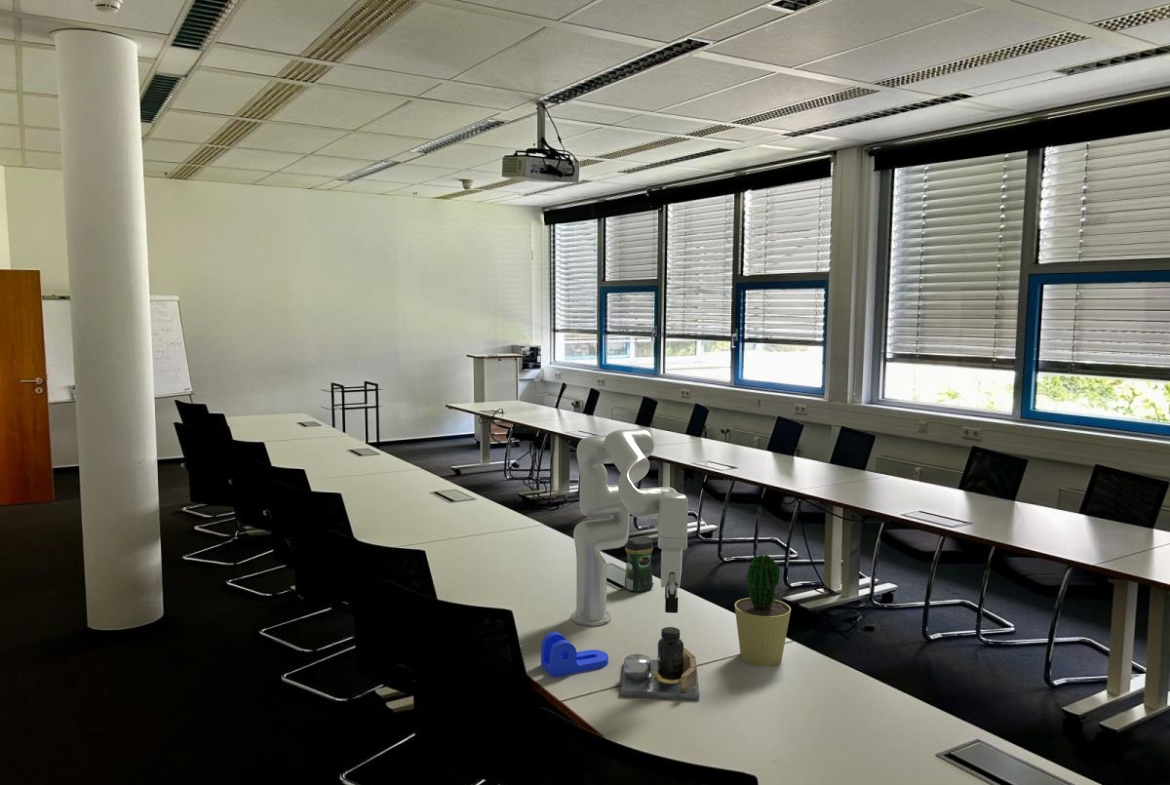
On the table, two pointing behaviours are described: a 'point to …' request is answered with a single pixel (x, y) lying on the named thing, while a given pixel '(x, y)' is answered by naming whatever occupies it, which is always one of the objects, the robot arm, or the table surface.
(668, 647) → the supplement bottle
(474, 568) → the table surface
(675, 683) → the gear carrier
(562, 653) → the bracket
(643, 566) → the coffee jar
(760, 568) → the potted cactus
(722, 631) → the table surface
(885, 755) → the table surface
